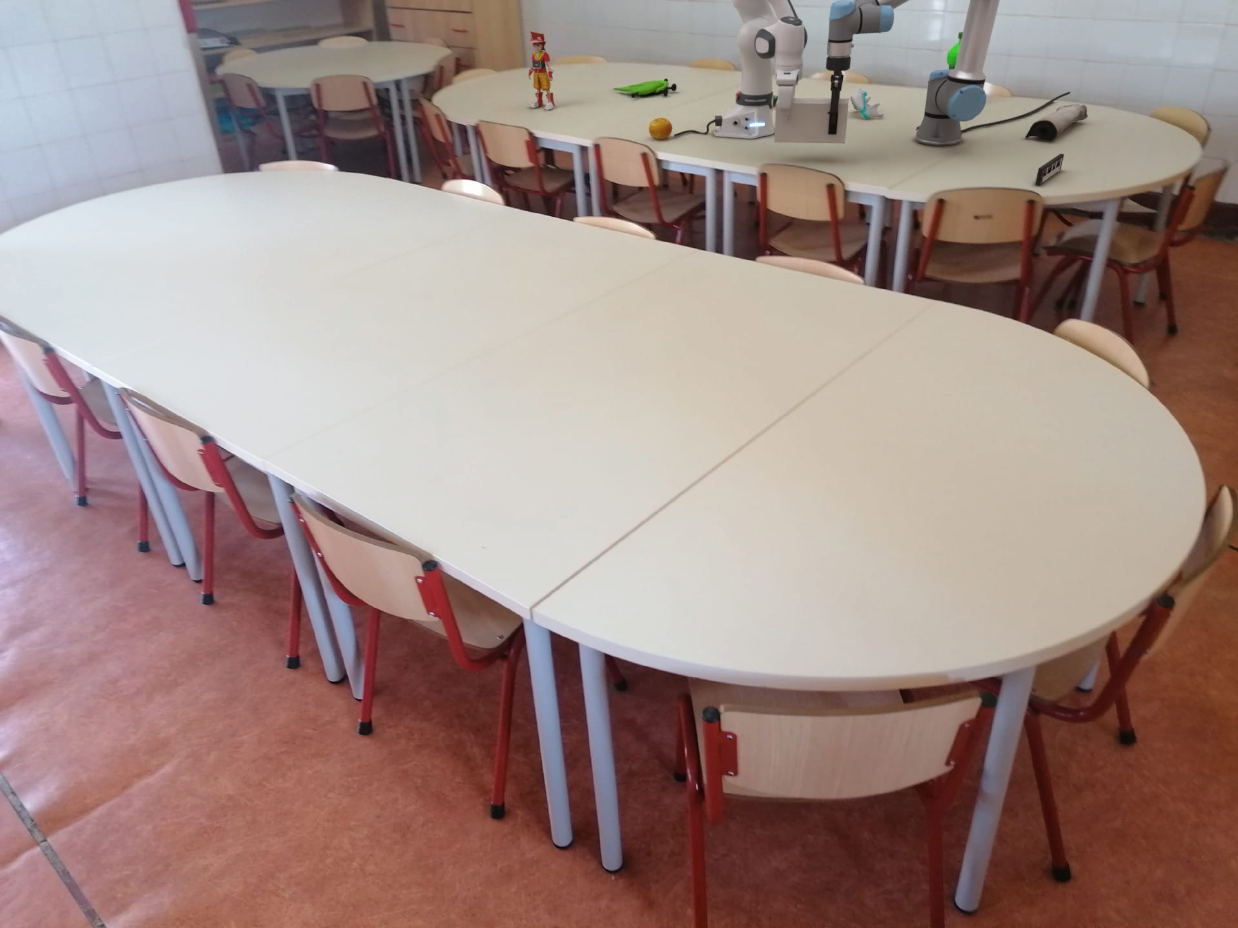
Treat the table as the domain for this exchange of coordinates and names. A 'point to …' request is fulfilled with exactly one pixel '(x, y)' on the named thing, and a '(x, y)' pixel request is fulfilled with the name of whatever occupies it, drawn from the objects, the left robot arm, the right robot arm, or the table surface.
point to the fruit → (660, 128)
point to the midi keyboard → (1049, 169)
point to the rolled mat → (1057, 122)
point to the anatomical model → (865, 105)
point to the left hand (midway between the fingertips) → (786, 118)
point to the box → (810, 122)
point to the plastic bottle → (954, 53)
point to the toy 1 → (541, 71)
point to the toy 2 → (648, 88)
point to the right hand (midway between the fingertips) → (832, 131)
